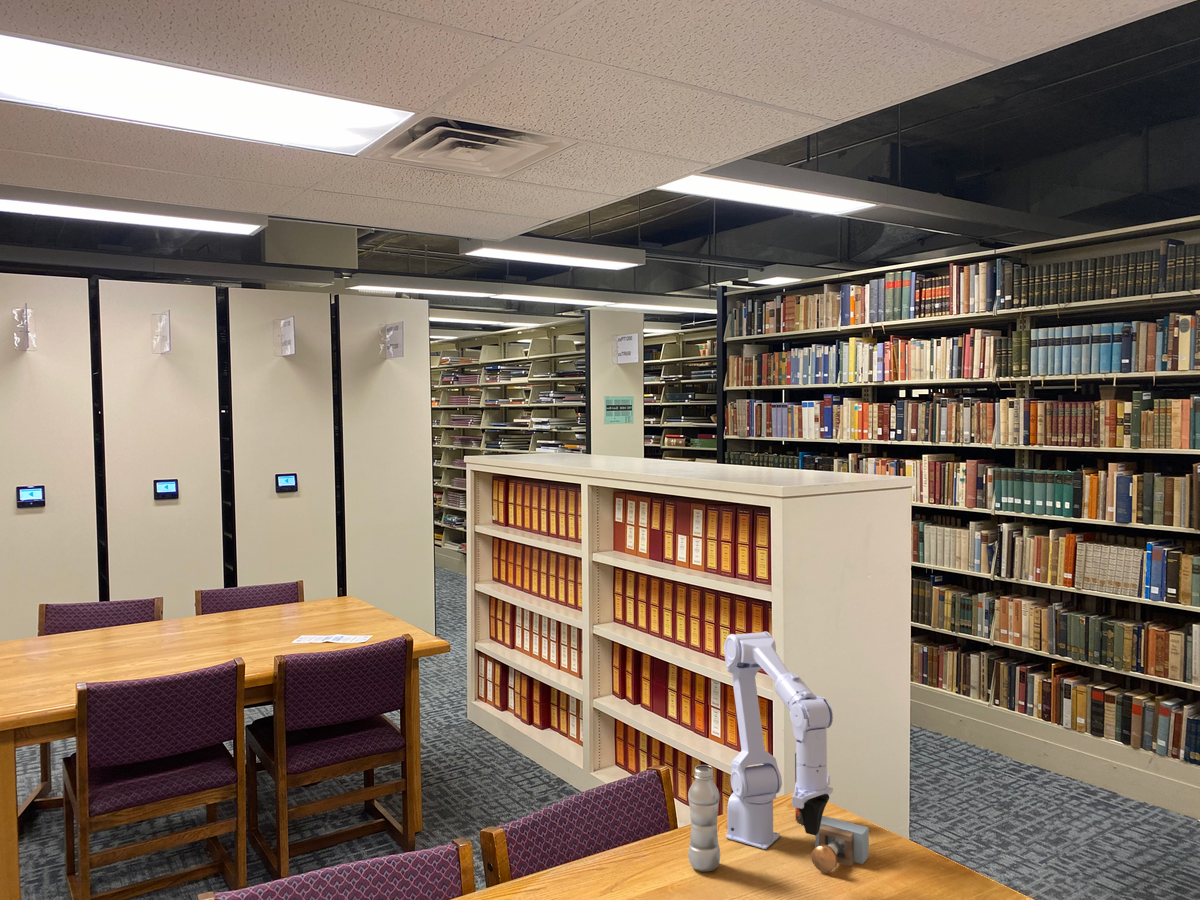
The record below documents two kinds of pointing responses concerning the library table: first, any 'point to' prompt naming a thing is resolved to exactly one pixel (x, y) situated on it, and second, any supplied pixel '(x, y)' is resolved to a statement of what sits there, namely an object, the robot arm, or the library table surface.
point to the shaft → (827, 855)
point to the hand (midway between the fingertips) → (812, 833)
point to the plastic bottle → (704, 820)
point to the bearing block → (859, 837)
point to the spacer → (841, 834)
